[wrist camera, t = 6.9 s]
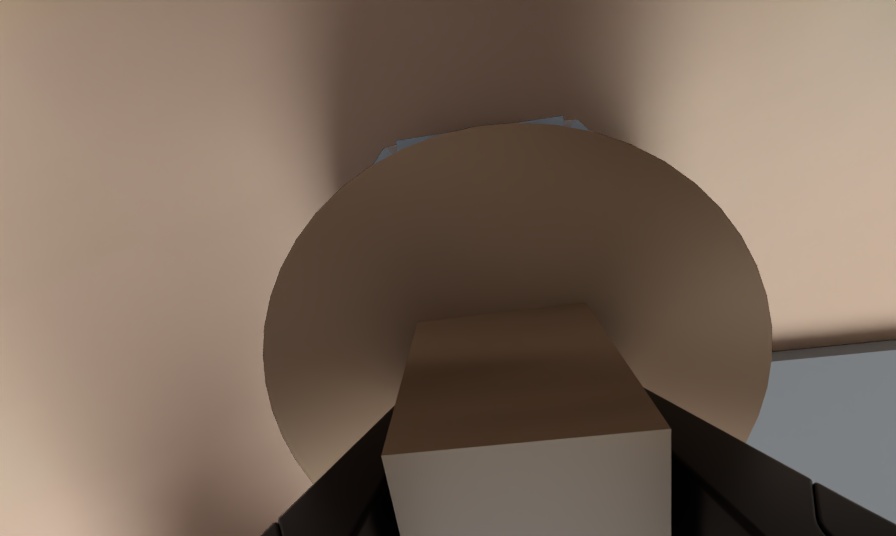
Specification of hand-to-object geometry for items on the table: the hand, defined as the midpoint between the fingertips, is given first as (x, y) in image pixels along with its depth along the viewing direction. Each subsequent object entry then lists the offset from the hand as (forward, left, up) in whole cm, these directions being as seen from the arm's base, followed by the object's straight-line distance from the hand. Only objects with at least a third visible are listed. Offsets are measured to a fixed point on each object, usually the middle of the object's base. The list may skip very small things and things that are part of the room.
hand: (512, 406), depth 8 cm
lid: (0, 0, -2) cm, 2 cm away
